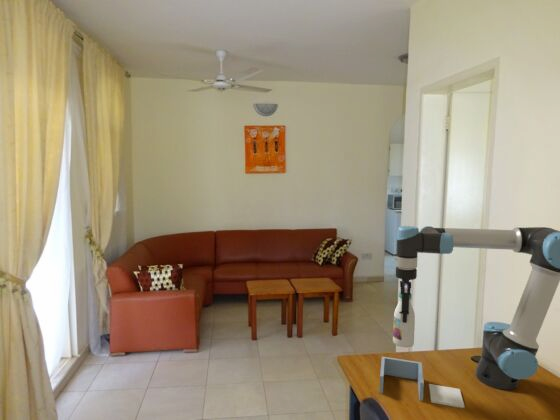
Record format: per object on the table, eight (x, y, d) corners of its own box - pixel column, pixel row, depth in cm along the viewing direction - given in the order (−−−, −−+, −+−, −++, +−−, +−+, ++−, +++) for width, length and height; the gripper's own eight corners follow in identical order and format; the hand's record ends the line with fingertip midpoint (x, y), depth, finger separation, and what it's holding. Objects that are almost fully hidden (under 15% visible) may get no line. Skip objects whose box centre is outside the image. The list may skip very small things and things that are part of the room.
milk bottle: (412, 339, 148) (414, 290, 146) (415, 349, 141) (417, 297, 138) (391, 338, 150) (393, 289, 148) (393, 347, 142) (395, 295, 140)
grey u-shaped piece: (420, 378, 152) (421, 362, 152) (422, 401, 138) (423, 383, 137) (381, 372, 157) (381, 356, 156) (379, 393, 142) (380, 375, 142)
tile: (459, 390, 144) (459, 388, 144) (464, 408, 134) (464, 406, 134) (428, 385, 148) (428, 383, 147) (431, 402, 137) (431, 400, 137)
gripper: (396, 260, 153) (394, 314, 155) (395, 273, 133) (393, 335, 136) (415, 261, 150) (413, 316, 153) (418, 275, 131) (415, 338, 134)
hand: (403, 325), depth 144 cm, fingers closed on milk bottle, 8 cm apart
